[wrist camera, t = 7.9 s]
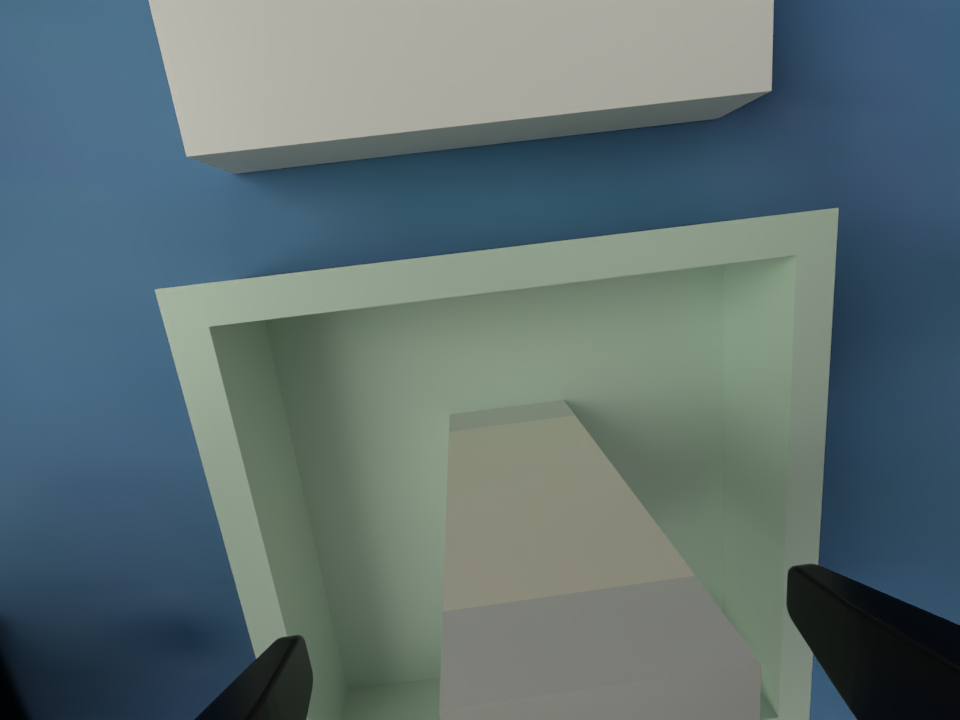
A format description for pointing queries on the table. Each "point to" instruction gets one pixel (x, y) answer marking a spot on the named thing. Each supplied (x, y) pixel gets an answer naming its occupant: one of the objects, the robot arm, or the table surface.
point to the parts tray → (498, 384)
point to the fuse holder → (447, 72)
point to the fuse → (571, 588)
